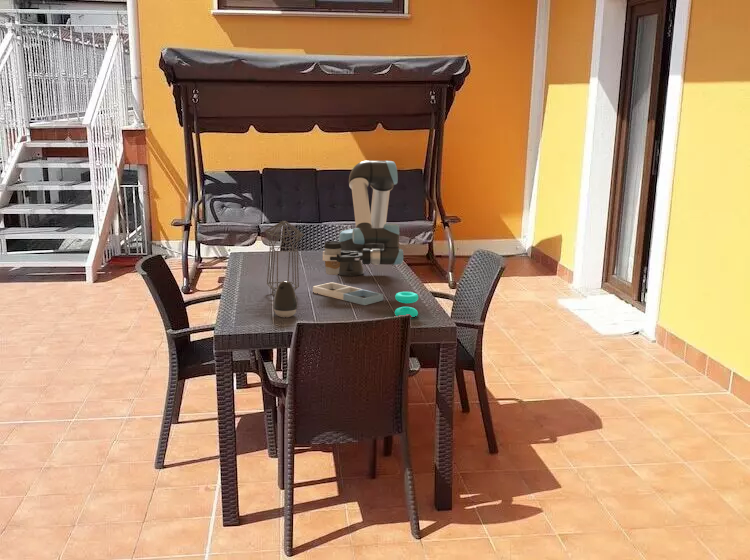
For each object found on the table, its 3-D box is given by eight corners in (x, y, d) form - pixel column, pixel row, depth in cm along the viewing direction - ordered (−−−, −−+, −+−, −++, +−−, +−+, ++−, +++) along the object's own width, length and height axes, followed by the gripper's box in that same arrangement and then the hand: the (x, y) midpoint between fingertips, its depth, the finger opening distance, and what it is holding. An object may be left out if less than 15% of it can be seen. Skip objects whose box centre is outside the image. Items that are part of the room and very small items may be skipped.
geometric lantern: (262, 292, 365) (263, 219, 358) (294, 290, 371) (295, 218, 364) (271, 299, 351) (272, 223, 344) (304, 297, 357) (306, 223, 350)
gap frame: (331, 288, 377) (331, 282, 376) (383, 300, 356) (383, 294, 355) (312, 292, 367) (312, 286, 366) (364, 305, 346) (364, 298, 345)
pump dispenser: (268, 317, 323) (268, 282, 319) (280, 311, 332) (280, 277, 329) (290, 320, 319) (290, 284, 316) (301, 314, 329) (301, 279, 325)
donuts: (412, 290, 334) (422, 295, 325) (411, 312, 337) (421, 318, 328) (391, 291, 330) (401, 297, 321) (390, 314, 333) (400, 320, 324)
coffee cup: (327, 276, 360) (328, 244, 357) (320, 272, 367) (321, 241, 364) (344, 274, 364) (344, 243, 361) (336, 271, 371) (337, 240, 368)
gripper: (371, 269, 356) (322, 268, 354) (369, 259, 376) (322, 259, 374) (372, 253, 354) (322, 252, 352) (369, 244, 374) (322, 244, 373)
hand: (322, 256), depth 363 cm, fingers closed on coffee cup, 8 cm apart
